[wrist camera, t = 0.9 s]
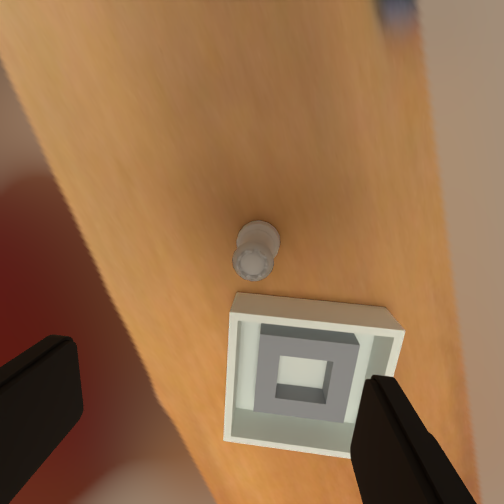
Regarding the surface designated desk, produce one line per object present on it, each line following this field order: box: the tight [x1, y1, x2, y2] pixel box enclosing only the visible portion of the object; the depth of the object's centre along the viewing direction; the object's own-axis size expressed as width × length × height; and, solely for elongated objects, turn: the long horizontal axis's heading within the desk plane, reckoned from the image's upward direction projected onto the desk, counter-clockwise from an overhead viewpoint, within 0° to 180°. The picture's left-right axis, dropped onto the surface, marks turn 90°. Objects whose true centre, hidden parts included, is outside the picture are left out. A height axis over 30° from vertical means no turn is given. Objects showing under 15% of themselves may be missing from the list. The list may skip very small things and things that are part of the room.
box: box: [223, 292, 405, 459], centre depth 28 cm, size 16×16×4 cm
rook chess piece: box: [232, 220, 280, 281], centre depth 23 cm, size 4×4×8 cm
